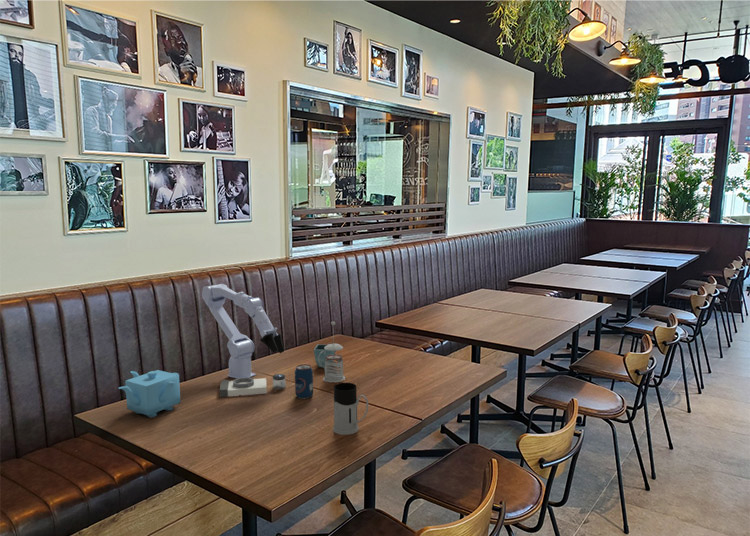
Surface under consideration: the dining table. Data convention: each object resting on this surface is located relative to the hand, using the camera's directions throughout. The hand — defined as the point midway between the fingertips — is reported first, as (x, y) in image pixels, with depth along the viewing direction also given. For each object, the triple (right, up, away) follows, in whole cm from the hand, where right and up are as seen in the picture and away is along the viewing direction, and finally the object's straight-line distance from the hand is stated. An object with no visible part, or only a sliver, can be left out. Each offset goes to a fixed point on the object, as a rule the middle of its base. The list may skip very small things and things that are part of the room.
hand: (279, 351), depth 221 cm
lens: (0, -15, +1) cm, 15 cm away
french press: (+21, -13, +11) cm, 27 cm away
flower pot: (+16, -11, +28) cm, 35 cm away
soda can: (+11, -16, -8) cm, 22 cm away
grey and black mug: (+31, -21, -40) cm, 55 cm away
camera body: (-14, -15, -2) cm, 21 cm away
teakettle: (-43, -19, -22) cm, 52 cm away
